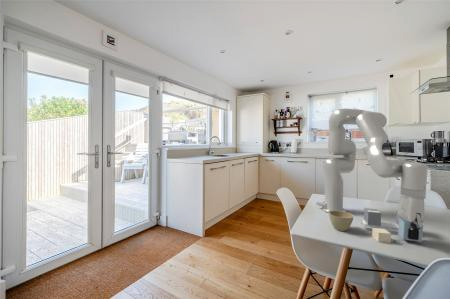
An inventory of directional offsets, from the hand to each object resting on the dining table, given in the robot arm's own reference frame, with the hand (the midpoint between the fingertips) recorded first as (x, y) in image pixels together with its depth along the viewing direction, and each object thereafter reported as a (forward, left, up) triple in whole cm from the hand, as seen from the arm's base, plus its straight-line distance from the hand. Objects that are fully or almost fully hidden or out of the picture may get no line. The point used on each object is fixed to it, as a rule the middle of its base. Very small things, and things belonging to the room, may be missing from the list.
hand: (409, 235), depth 83 cm
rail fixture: (-4, +10, -2) cm, 11 cm away
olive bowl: (-25, +3, -2) cm, 25 cm away
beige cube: (-11, -3, -2) cm, 11 cm away
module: (0, 0, -1) cm, 1 cm away
